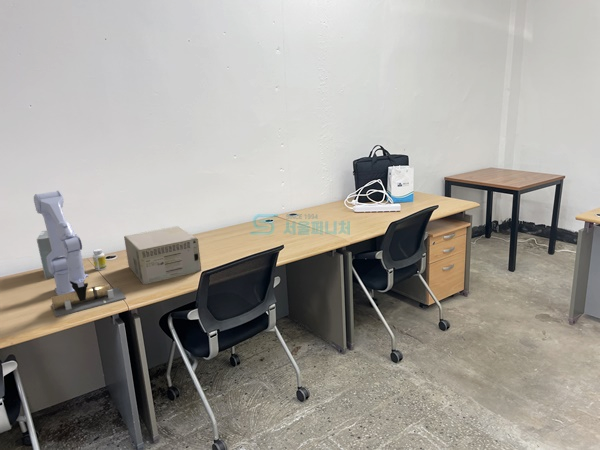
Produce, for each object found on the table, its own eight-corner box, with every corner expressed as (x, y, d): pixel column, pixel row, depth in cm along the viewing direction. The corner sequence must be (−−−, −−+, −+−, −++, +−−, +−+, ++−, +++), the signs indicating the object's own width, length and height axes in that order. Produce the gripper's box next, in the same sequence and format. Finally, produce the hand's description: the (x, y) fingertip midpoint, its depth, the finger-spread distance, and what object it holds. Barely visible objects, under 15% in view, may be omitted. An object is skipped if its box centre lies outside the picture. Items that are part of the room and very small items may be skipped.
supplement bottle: (108, 266, 225) (105, 248, 223) (104, 270, 220) (101, 251, 218) (97, 267, 225) (94, 248, 223) (93, 270, 220) (89, 252, 217)
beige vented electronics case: (182, 255, 237) (178, 225, 233) (201, 270, 213) (197, 237, 209) (128, 267, 223) (123, 235, 219) (143, 285, 199) (137, 250, 195)
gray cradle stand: (51, 305, 183) (50, 295, 182) (118, 288, 197) (116, 279, 196) (56, 317, 172) (53, 307, 171) (126, 298, 185) (124, 289, 184)
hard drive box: (49, 268, 227) (41, 230, 221) (66, 266, 229) (59, 228, 224) (44, 279, 212) (36, 239, 207) (62, 276, 215) (54, 236, 210)
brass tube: (52, 306, 179) (50, 295, 178) (108, 292, 190) (106, 281, 189) (54, 311, 175) (52, 299, 174) (110, 297, 186) (109, 285, 185)
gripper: (89, 269, 175) (95, 301, 178) (83, 259, 187) (89, 289, 190) (69, 273, 171) (76, 306, 175) (64, 263, 183) (70, 294, 186)
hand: (81, 298), depth 182 cm, fingers closed on brass tube, 5 cm apart
